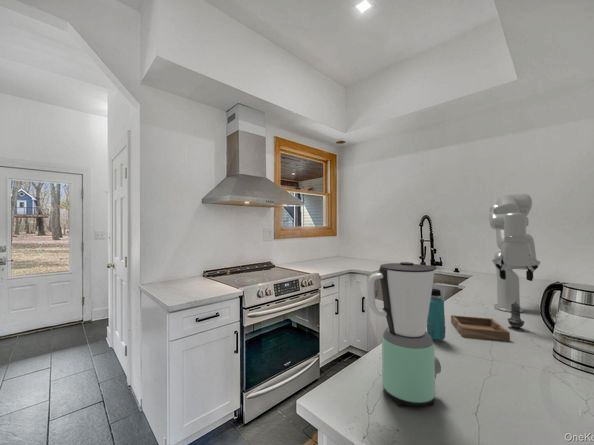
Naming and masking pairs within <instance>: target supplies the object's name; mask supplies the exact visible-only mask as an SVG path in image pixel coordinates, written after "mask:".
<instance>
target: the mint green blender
mask: <svg viewBox="0 0 594 445" xmlns="http://www.w3.org/2000/svg"><path fill="white" fill-rule="evenodd" d="M437 268H438V266H436V265H429V264H420V263H419V264H416V263H414V262H409V261H408V262H407V261H404V262H403V261H401V262H399V263H397V262H395V263H393V262H392V263H383V264H380V266H379V271H378V272H375V273H372V274H370V275H369V277H368V280H367V302H368V307H369V309H370V311H371V312H373V314H375V315H376V316H379V317H385V319H386V322H387V327H386V329H384V331H383V333H382V340H381V342H382V344H381V350H382V351H381V353H382V354H381V355H382V356H381V358H382V360H381V363H382V364H381V370H382V371H381V372H382V373H381V375H382V378H381V381H382V382H381V385H382V388H383V391H385V393H386V394H387V395H388V396H390V398H392V399H393V400H394V401H396V406H397V407H399V408H405V406H406V405H407V406H412V407H424V406H427V405H428V406H431V407H432V406H434V405H435V397H436V393H437V392H436V379H437V374H440V373H441V372H442V365H441V362H440V359H438V357H437V356H436V352H435V344H434V339H433V338H431V336H430V335H429V334H428V333H427V319H428V313H429V306H430V300H431V297H432V295H431V293H432V289H433V285H434V277H435V273H436V270H437ZM376 280H379V281H380V286H381V287H380V288H381V294H382V301H383V307H382V309H379V308H378V307H377V305H376V296H375V294H376V293H375V282H376Z"/></svg>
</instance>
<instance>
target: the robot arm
mask: <svg viewBox="0 0 594 445" xmlns="http://www.w3.org/2000/svg"><path fill="white" fill-rule="evenodd" d="M532 207H533V199H532V197H531V196H530V194H526V193H516V194H515V193H514V194H504V195H501V196H499V198H497V201H496V204H492V205H490V207H489V214H488V215H489V216H488V221H489V226H490V228H491V229H493V230H495V238H496V245H497V246H496V247H497V248H498V249H499V251H497V252H496V253H494V258H493V259H492V264H494V266H495V271H496V289H497V290H496V294H497V295H496V297H497V298H496V299H497V300H496V301H497V303H494V305H493V307H494V309H497V310H499V311H503V312H508V313H511V312H510V311H511V304H513V303H515V301H516V303H517V304H519V305H520V303H521V302H520V301H521V300H520V298H521V297H520V277H519V275H518V274H517V273H516V272H515V271H514V270H522V271H523V270H524V271H525V270H526V271H525V272H526V273H525V275H526V277H525V278H526V280H527V281H529V282H533V280H534V272H535V270H537V269H538V268H539V266H540V264H541V261H540V260H537V253H536V245H535V240H534V237H533V236H532V235H531V234H529V233H527V227H528V226H529V217H528V216H529V214H530V211H531V210H532ZM520 312H521V313H523V312H524V308H523V307H521V305H520Z"/></svg>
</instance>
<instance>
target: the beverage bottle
mask: <svg viewBox="0 0 594 445" xmlns="http://www.w3.org/2000/svg"><path fill="white" fill-rule="evenodd" d="M441 292H442V291H441V290H440V289H437V288H432V293H431V300H430V306H429V313H428V319H427V325H426V332H427V333H428V334H429V335H430V336H431V338H432V340H438V341H442V340H445V338H446V322H445V321H446V315H445V300H443V299H442V298H440V296H442V294H441Z"/></svg>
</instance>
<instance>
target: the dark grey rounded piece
mask: <svg viewBox="0 0 594 445" xmlns="http://www.w3.org/2000/svg"><path fill="white" fill-rule="evenodd" d="M520 307H521V305H519V304H517V303H516V301H515V303H513V304H511V311H510V312H509V313H510V314H511V315H510V318H507V320H506V321H508V324H509V325H510V326H508V329H509V330H513V331H516V332H524V331H525V329H524V328H522V327H523V326H524V324H525V321H524V320H522V318H521V313H522V312H520Z"/></svg>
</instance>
